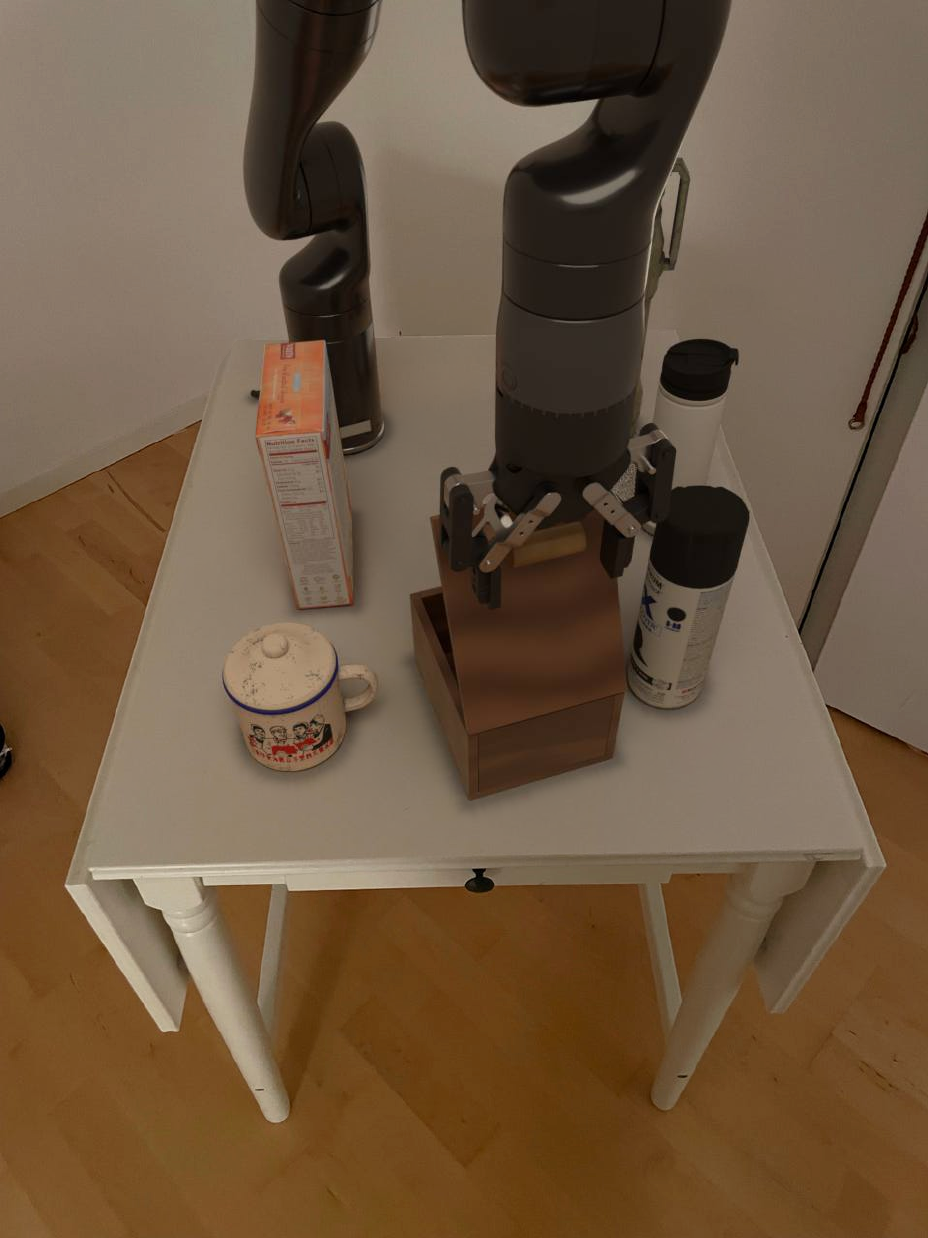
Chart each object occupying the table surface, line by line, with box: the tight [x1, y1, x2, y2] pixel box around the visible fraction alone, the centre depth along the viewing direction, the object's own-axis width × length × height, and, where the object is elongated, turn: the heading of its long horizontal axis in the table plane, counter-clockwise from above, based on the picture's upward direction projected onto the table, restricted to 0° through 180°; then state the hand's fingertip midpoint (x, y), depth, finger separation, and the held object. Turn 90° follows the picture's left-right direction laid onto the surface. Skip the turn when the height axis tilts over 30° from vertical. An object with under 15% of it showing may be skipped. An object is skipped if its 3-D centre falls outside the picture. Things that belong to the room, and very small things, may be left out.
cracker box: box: [254, 340, 355, 610], centre depth 85 cm, size 14×6×21 cm, turn 5°
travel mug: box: [641, 338, 740, 536], centre depth 89 cm, size 6×7×20 cm
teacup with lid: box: [221, 622, 379, 772], centre depth 74 cm, size 12×9×12 cm
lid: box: [429, 503, 628, 735], centre depth 63 cm, size 16×13×5 cm
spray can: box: [627, 485, 751, 710], centre depth 74 cm, size 7×7×20 cm
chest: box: [409, 585, 625, 801], centre depth 77 cm, size 16×13×9 cm
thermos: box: [630, 156, 691, 439], centre depth 95 cm, size 9×12×35 cm
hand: (550, 585), depth 60 cm, fingers open, 8 cm apart
